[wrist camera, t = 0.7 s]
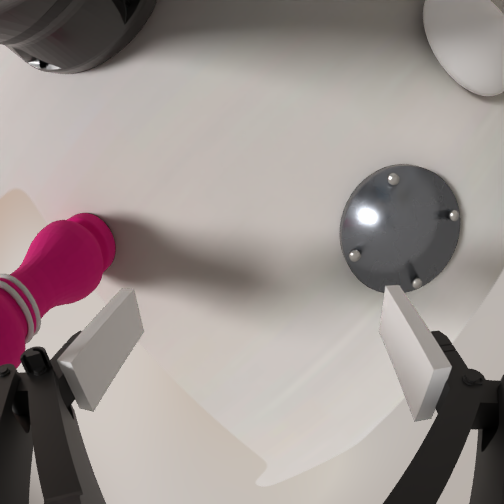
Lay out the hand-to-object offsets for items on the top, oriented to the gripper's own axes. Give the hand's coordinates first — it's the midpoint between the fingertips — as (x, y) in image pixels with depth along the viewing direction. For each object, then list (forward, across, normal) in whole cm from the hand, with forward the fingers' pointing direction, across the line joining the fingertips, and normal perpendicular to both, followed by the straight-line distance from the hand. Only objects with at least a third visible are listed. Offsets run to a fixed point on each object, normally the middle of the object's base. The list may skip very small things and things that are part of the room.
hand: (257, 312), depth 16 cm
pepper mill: (+12, -17, 0) cm, 21 cm away
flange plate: (+13, +12, 0) cm, 18 cm away
